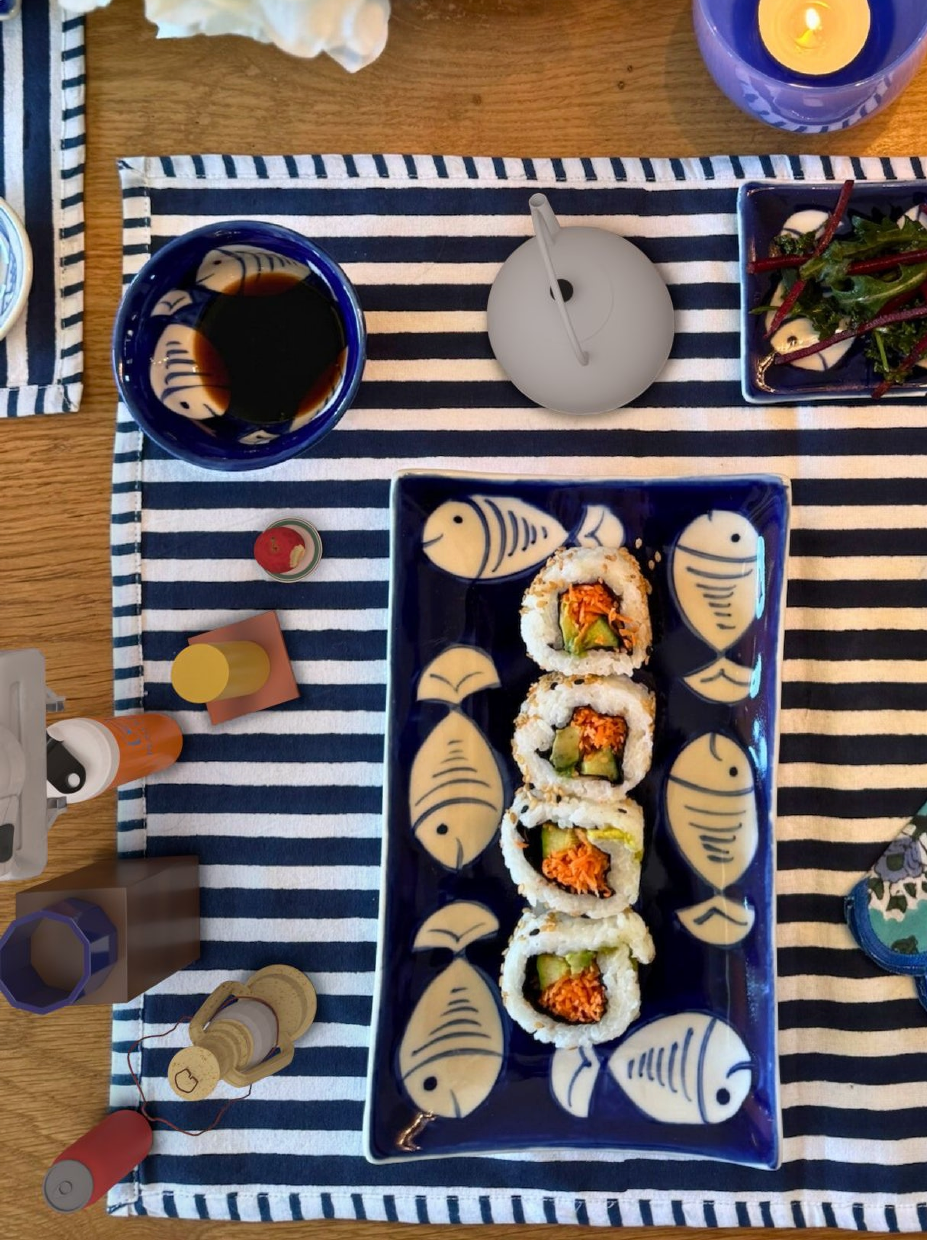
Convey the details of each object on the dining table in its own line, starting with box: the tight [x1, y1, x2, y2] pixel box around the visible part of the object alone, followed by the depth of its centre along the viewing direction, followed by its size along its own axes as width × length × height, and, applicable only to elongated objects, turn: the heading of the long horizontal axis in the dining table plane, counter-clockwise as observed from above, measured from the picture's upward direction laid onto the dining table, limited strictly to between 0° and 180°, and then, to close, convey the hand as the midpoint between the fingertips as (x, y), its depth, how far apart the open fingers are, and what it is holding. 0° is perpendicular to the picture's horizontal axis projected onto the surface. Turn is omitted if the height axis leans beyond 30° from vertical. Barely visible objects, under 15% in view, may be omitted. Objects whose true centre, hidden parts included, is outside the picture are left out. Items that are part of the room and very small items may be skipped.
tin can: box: [170, 641, 270, 704], centre depth 136 cm, size 7×7×11 cm
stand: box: [14, 854, 201, 1010], centre depth 131 cm, size 12×12×16 cm
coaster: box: [187, 610, 301, 726], centre depth 142 cm, size 11×11×1 cm
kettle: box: [486, 192, 676, 416], centre depth 134 cm, size 25×23×23 cm
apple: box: [253, 516, 323, 583], centre depth 140 cm, size 8×8×6 cm
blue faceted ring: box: [0, 898, 117, 1016], centre depth 121 cm, size 10×10×5 cm
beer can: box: [41, 1109, 153, 1215], centre depth 131 cm, size 7×7×12 cm
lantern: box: [126, 963, 318, 1137], centre depth 123 cm, size 12×10×30 cm
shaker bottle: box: [46, 712, 184, 804], centre depth 131 cm, size 9×9×20 cm
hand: (59, 753), depth 110 cm, fingers open, 8 cm apart
